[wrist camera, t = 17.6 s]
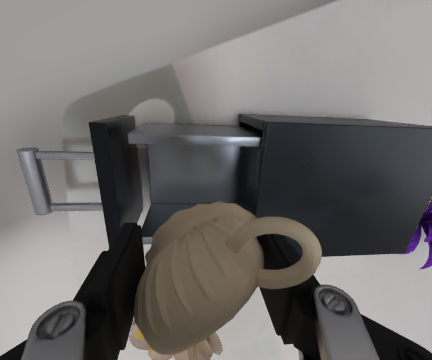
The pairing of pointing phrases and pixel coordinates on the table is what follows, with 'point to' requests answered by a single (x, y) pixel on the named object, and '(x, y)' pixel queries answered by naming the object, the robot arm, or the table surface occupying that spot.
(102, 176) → the drawer with silver handle
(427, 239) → the decorative flower
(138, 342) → the decorative flower
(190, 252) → the decorative ornament
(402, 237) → the cabinet
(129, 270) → the robot arm
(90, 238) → the table surface
